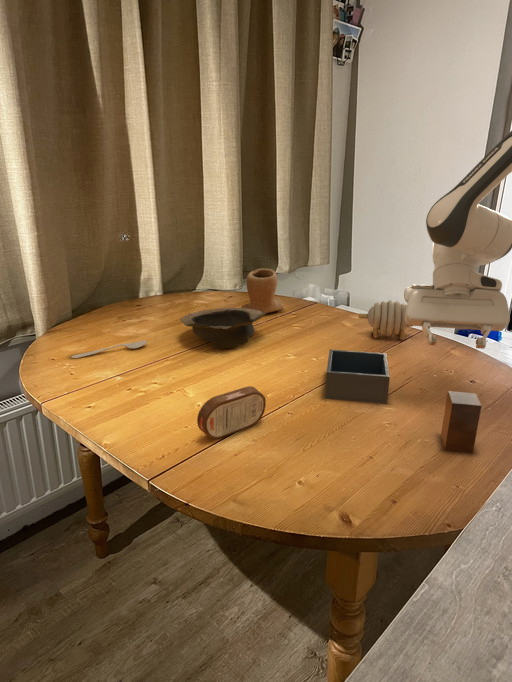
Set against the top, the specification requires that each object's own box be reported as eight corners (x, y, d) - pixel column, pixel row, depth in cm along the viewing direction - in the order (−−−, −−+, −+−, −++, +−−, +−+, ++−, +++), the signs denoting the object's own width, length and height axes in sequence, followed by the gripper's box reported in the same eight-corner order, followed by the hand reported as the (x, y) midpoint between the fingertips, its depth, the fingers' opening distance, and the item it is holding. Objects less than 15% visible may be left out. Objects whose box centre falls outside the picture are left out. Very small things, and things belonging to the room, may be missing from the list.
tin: (259, 416, 106) (259, 380, 102) (268, 422, 103) (268, 385, 100) (197, 439, 97) (195, 400, 94) (205, 446, 95) (203, 407, 92)
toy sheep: (418, 343, 144) (423, 307, 140) (359, 341, 146) (362, 305, 142) (411, 331, 154) (415, 296, 150) (356, 329, 156) (358, 295, 152)
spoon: (149, 348, 141) (148, 343, 140) (72, 360, 133) (71, 354, 132) (145, 343, 144) (145, 338, 144) (70, 355, 137) (70, 349, 136)
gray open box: (383, 377, 123) (386, 353, 121) (386, 403, 111) (389, 376, 108) (328, 373, 125) (329, 349, 123) (325, 398, 113) (326, 372, 111)
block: (467, 438, 97) (475, 393, 94) (472, 453, 93) (481, 405, 89) (440, 436, 98) (447, 390, 95) (444, 450, 94) (452, 403, 90)
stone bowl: (243, 359, 133) (240, 326, 130) (166, 351, 143) (161, 320, 140) (279, 329, 154) (277, 300, 151) (208, 324, 164) (205, 296, 161)
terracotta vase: (252, 320, 164) (252, 275, 158) (237, 310, 174) (236, 268, 168) (292, 314, 170) (293, 270, 165) (275, 304, 180) (276, 263, 175)
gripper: (406, 276, 106) (405, 336, 100) (510, 281, 102) (514, 343, 97) (402, 291, 111) (401, 348, 106) (500, 296, 108) (504, 355, 102)
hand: (456, 345), depth 101 cm, fingers open, 8 cm apart
